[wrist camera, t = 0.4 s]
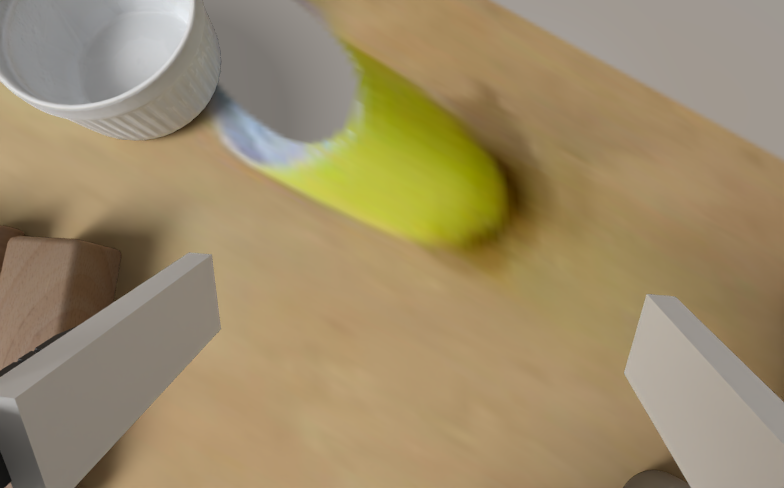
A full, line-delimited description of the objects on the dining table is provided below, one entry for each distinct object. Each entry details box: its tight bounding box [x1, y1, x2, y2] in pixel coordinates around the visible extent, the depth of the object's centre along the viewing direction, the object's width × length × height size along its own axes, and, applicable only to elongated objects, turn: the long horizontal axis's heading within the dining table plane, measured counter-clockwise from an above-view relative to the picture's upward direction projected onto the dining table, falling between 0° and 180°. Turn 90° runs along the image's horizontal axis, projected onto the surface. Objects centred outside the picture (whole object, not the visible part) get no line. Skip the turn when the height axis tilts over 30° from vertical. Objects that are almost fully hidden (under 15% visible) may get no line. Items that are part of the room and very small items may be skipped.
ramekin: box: [0, 0, 221, 140], centre depth 29 cm, size 13×13×7 cm
